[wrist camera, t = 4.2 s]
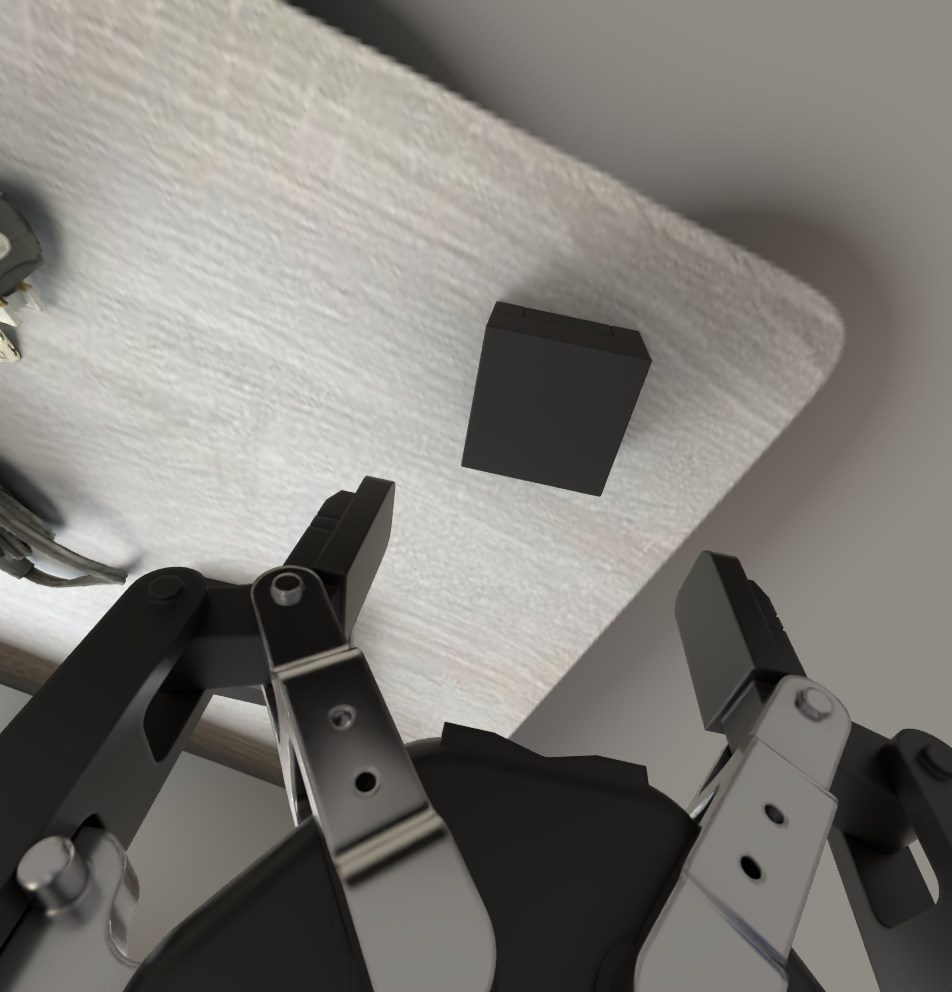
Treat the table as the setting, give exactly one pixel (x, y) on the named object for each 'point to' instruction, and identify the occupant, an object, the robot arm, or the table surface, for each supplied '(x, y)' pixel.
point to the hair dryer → (3, 266)
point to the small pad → (553, 398)
